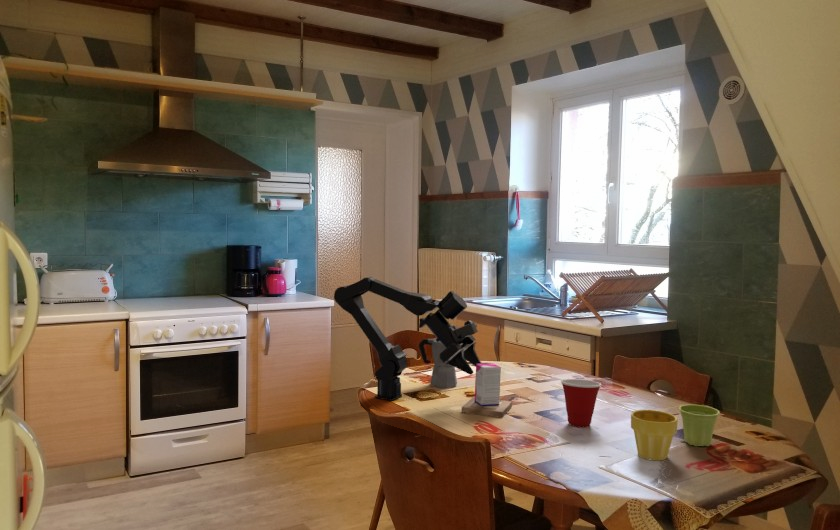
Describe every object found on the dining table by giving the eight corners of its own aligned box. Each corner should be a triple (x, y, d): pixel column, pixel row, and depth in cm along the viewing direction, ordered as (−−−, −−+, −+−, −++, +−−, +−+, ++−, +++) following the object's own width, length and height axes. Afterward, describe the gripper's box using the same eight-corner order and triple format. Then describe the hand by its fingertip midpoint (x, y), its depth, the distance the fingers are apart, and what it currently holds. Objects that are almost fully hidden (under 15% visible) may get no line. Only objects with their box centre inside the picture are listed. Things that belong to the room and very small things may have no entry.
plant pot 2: (714, 452, 162) (716, 417, 162) (674, 444, 167) (675, 410, 167) (720, 441, 170) (722, 408, 170) (681, 434, 175) (683, 402, 175)
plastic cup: (601, 421, 186) (602, 378, 185) (598, 432, 176) (600, 387, 175) (561, 416, 190) (563, 374, 189) (556, 427, 179) (558, 383, 179)
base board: (461, 412, 192) (461, 406, 192) (473, 401, 203) (473, 396, 203) (502, 417, 188) (502, 411, 187) (512, 406, 199) (512, 401, 199)
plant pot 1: (650, 466, 152) (652, 424, 152) (620, 451, 162) (622, 411, 161) (685, 460, 156) (687, 419, 156) (653, 446, 166) (655, 407, 165)
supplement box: (500, 405, 193) (501, 366, 193) (481, 407, 192) (482, 367, 191) (492, 400, 199) (493, 362, 198) (473, 401, 197) (474, 363, 196)
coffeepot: (458, 380, 229) (460, 328, 228) (466, 387, 220) (468, 333, 219) (414, 382, 226) (416, 329, 225) (421, 389, 217) (422, 334, 216)
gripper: (451, 316, 188) (488, 359, 185) (470, 308, 205) (504, 347, 202) (424, 341, 191) (459, 384, 188) (445, 331, 208) (477, 370, 205)
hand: (476, 370), depth 196 cm, fingers open, 9 cm apart
